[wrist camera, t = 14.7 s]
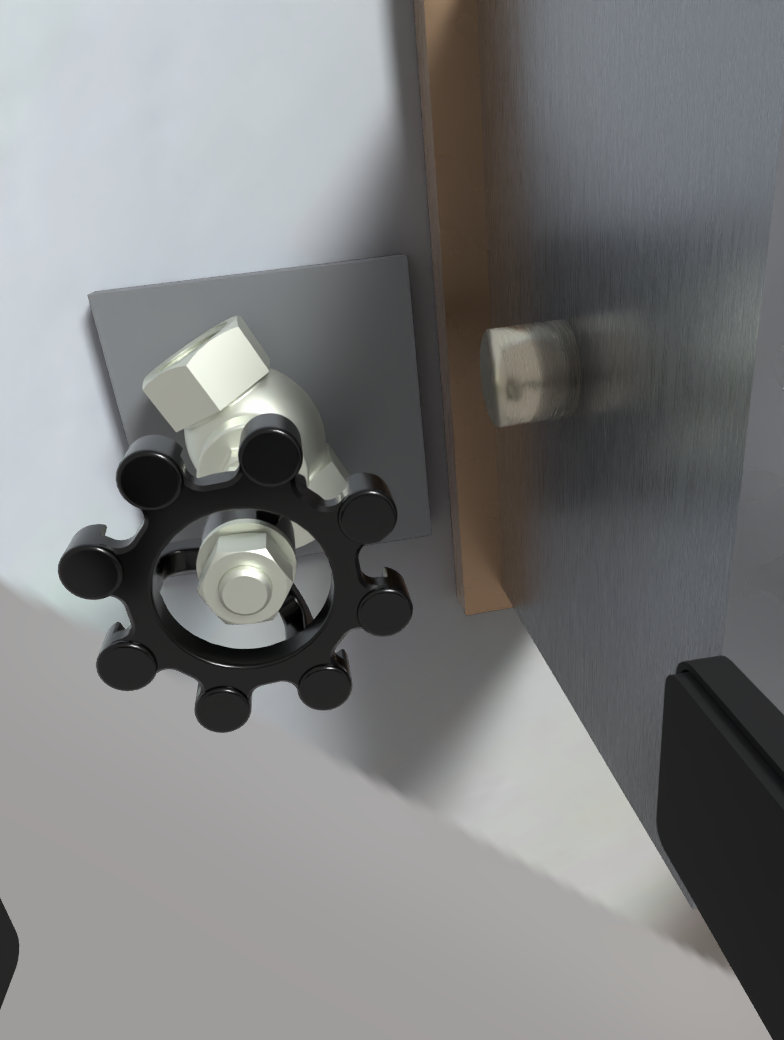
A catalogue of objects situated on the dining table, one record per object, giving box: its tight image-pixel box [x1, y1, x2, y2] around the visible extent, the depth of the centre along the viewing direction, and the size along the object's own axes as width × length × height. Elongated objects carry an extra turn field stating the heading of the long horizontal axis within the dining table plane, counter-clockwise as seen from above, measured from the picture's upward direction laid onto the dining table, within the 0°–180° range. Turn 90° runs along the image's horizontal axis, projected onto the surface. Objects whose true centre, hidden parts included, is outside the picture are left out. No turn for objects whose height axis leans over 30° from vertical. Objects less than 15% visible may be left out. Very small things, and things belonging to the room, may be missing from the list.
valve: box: [58, 316, 413, 733], centre depth 19 cm, size 7×7×12 cm
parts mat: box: [88, 254, 432, 577], centre depth 25 cm, size 10×10×1 cm
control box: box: [413, 0, 784, 909], centre depth 18 cm, size 7×22×16 cm, turn 6°
